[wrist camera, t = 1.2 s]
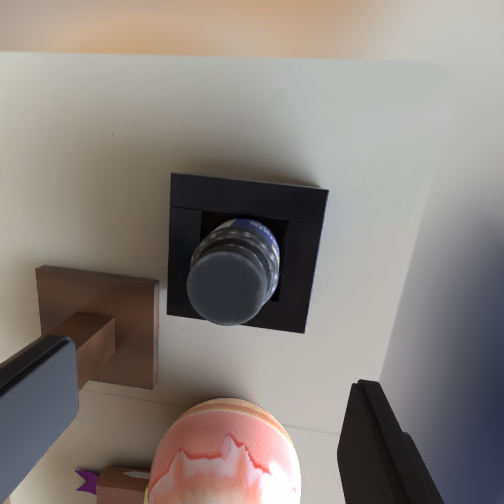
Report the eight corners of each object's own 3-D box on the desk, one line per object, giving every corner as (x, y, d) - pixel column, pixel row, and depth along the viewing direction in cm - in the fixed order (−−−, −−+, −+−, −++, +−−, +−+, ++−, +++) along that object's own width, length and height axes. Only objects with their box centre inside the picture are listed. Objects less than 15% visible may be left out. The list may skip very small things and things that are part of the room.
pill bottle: (292, 253, 28) (300, 304, 17) (240, 288, 29) (217, 356, 18) (252, 199, 27) (234, 216, 16) (201, 238, 28) (152, 278, 17)
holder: (186, 172, 27) (170, 172, 23) (321, 187, 26) (329, 189, 22) (181, 296, 30) (166, 315, 26) (301, 312, 29) (304, 334, 25)
